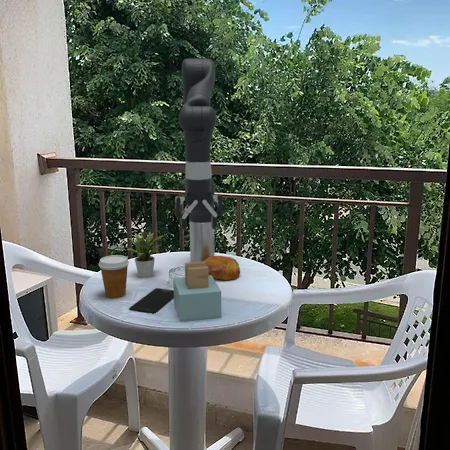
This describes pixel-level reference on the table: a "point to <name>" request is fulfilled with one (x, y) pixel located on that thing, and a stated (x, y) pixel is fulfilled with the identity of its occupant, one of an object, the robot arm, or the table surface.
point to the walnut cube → (196, 275)
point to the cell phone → (153, 301)
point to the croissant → (222, 267)
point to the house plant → (145, 255)
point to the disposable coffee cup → (114, 275)
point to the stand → (197, 300)
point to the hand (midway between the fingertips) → (199, 229)
